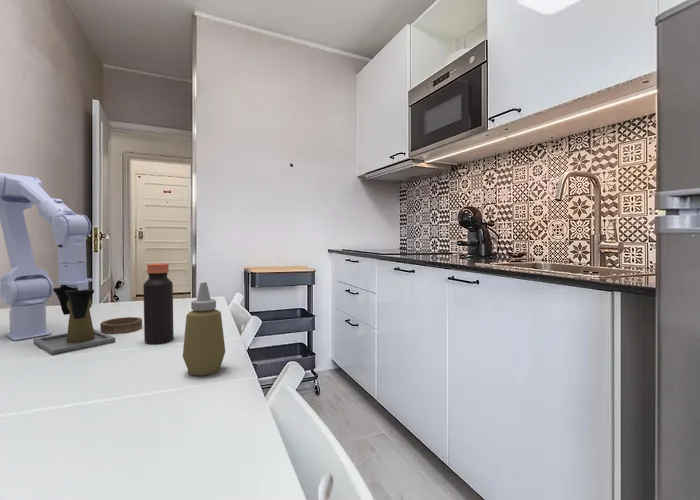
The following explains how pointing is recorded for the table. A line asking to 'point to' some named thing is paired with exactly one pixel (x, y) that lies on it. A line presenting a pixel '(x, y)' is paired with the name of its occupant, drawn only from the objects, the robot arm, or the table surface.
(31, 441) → the table surface
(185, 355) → the squeeze bottle
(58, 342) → the tray
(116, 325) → the ring
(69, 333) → the pepper mill
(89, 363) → the table surface
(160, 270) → the vinegar
